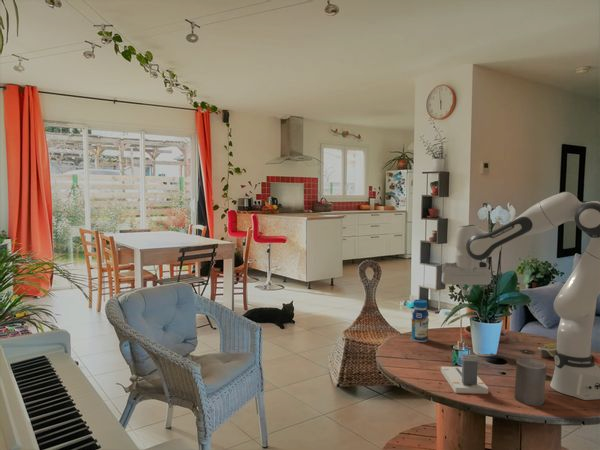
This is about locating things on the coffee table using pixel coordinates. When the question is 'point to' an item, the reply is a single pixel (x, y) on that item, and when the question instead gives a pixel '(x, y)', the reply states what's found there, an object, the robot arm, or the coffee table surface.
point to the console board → (455, 381)
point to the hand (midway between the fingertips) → (465, 294)
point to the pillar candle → (530, 381)
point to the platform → (548, 350)
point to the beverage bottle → (420, 321)
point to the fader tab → (469, 369)
